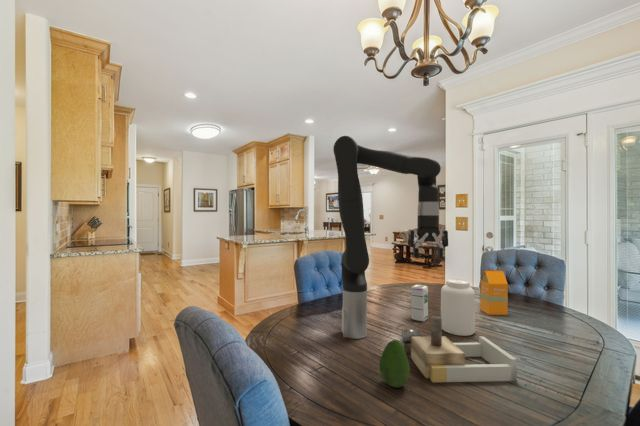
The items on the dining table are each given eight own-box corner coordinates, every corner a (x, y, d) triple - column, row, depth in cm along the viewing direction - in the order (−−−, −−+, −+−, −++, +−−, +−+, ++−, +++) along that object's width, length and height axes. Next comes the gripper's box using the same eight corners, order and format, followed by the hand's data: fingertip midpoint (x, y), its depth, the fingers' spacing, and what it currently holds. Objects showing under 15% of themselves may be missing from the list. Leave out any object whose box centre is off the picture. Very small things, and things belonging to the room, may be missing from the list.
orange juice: (507, 315, 142) (508, 272, 142) (488, 314, 142) (489, 271, 142) (498, 309, 150) (498, 269, 150) (480, 309, 150) (480, 268, 150)
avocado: (404, 377, 87) (404, 335, 87) (413, 393, 79) (413, 347, 79) (376, 377, 86) (376, 335, 86) (382, 394, 78) (383, 347, 78)
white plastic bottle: (479, 338, 115) (479, 284, 115) (443, 335, 117) (444, 283, 117) (469, 326, 127) (470, 278, 127) (438, 323, 130) (438, 276, 130)
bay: (432, 382, 84) (432, 360, 84) (411, 355, 100) (412, 337, 100) (516, 380, 85) (516, 359, 85) (483, 354, 101) (483, 336, 101)
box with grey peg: (425, 378, 86) (426, 325, 86) (410, 358, 98) (411, 311, 98) (464, 378, 86) (465, 325, 86) (445, 357, 99) (445, 311, 99)
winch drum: (403, 352, 102) (404, 331, 102) (400, 347, 106) (400, 327, 106) (421, 352, 102) (421, 331, 102) (417, 347, 106) (417, 327, 106)
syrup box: (424, 321, 132) (424, 288, 132) (410, 319, 135) (411, 286, 135) (428, 318, 136) (428, 285, 136) (415, 315, 140) (415, 283, 140)
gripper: (442, 214, 117) (442, 257, 117) (405, 214, 116) (405, 256, 116) (451, 214, 109) (451, 259, 109) (412, 214, 109) (412, 259, 109)
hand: (427, 258), depth 113 cm, fingers open, 8 cm apart
